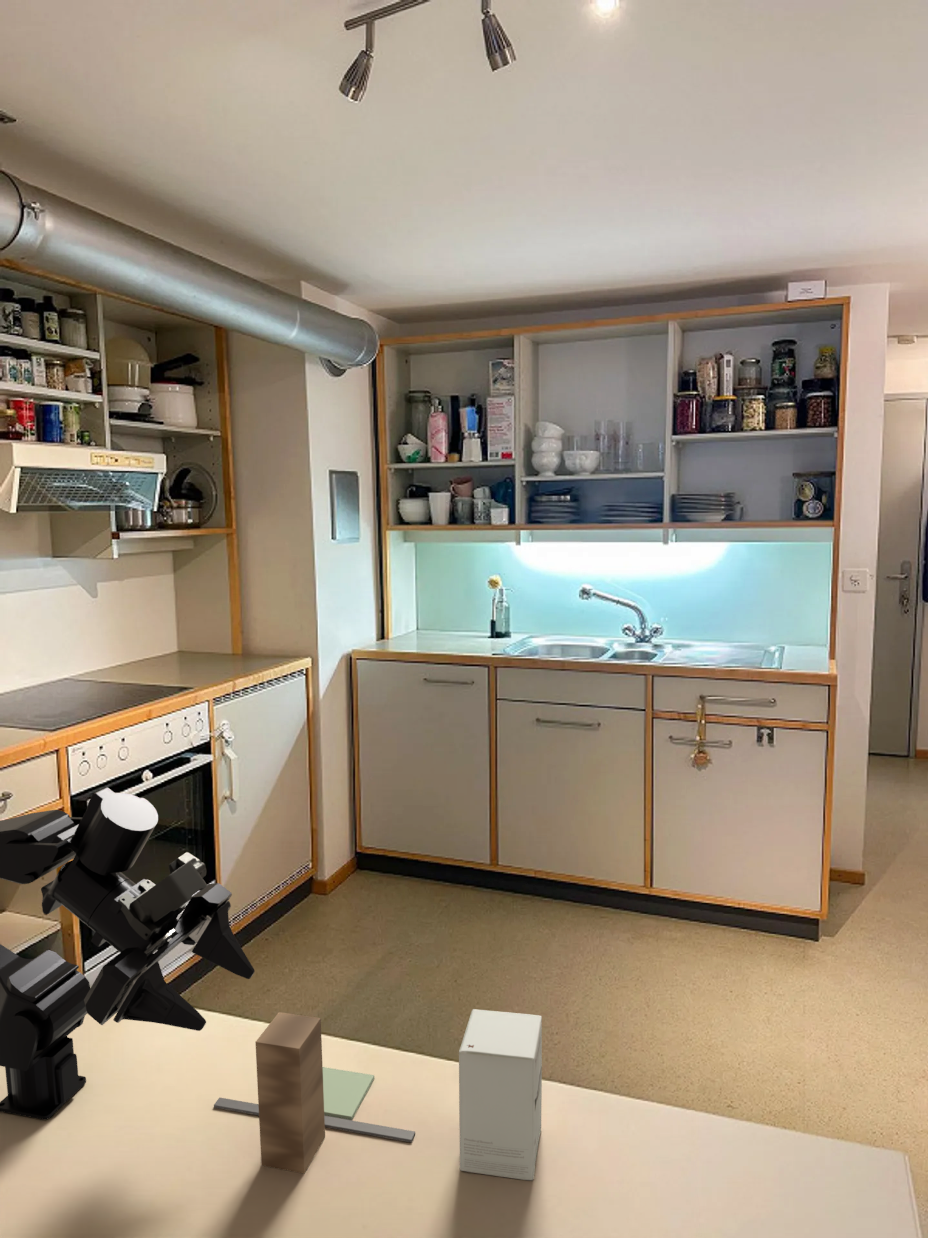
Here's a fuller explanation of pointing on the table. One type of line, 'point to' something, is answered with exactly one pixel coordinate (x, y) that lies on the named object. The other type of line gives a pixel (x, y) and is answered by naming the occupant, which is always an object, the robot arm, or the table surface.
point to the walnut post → (290, 1092)
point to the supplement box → (500, 1093)
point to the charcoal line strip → (327, 1121)
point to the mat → (344, 1092)
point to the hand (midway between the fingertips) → (229, 999)
